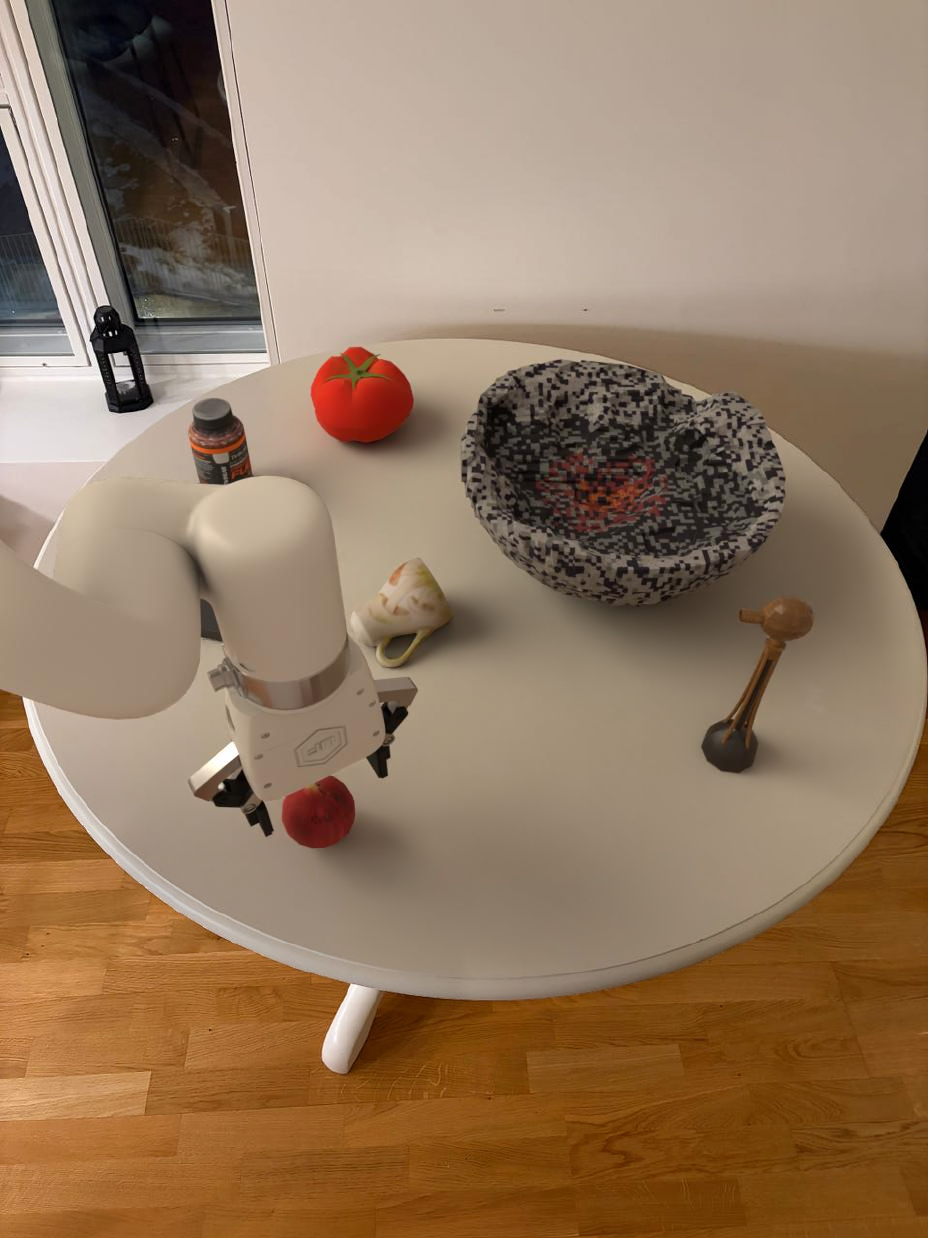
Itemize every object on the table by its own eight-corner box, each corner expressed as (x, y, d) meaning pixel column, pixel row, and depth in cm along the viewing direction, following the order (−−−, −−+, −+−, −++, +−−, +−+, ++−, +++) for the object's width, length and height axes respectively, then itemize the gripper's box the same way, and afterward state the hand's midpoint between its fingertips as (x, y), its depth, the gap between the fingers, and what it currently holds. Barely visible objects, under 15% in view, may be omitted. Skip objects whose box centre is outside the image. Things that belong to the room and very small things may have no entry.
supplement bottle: (246, 511, 101) (228, 428, 92) (194, 504, 101) (173, 421, 93) (262, 477, 105) (247, 394, 96) (212, 471, 105) (193, 388, 97)
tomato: (410, 459, 107) (408, 399, 101) (306, 454, 108) (298, 394, 101) (418, 397, 116) (417, 338, 109) (321, 392, 116) (315, 333, 110)
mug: (333, 627, 90) (362, 538, 86) (417, 636, 95) (449, 552, 91) (356, 668, 84) (390, 574, 80) (445, 675, 89) (480, 587, 86)
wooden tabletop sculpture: (690, 767, 80) (749, 619, 65) (688, 724, 83) (744, 573, 68) (757, 775, 80) (832, 628, 65) (753, 732, 83) (824, 582, 68)
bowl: (460, 668, 87) (464, 558, 75) (457, 461, 107) (459, 350, 96) (782, 669, 88) (833, 560, 76) (717, 464, 108) (750, 354, 97)
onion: (367, 812, 76) (362, 761, 70) (343, 873, 73) (335, 825, 67) (303, 795, 77) (292, 743, 71) (276, 854, 73) (262, 805, 67)
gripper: (178, 756, 52) (233, 885, 65) (437, 639, 58) (440, 778, 71) (138, 668, 56) (196, 805, 69) (383, 567, 62) (395, 711, 75)
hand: (320, 791), depth 70 cm, fingers open, 9 cm apart
